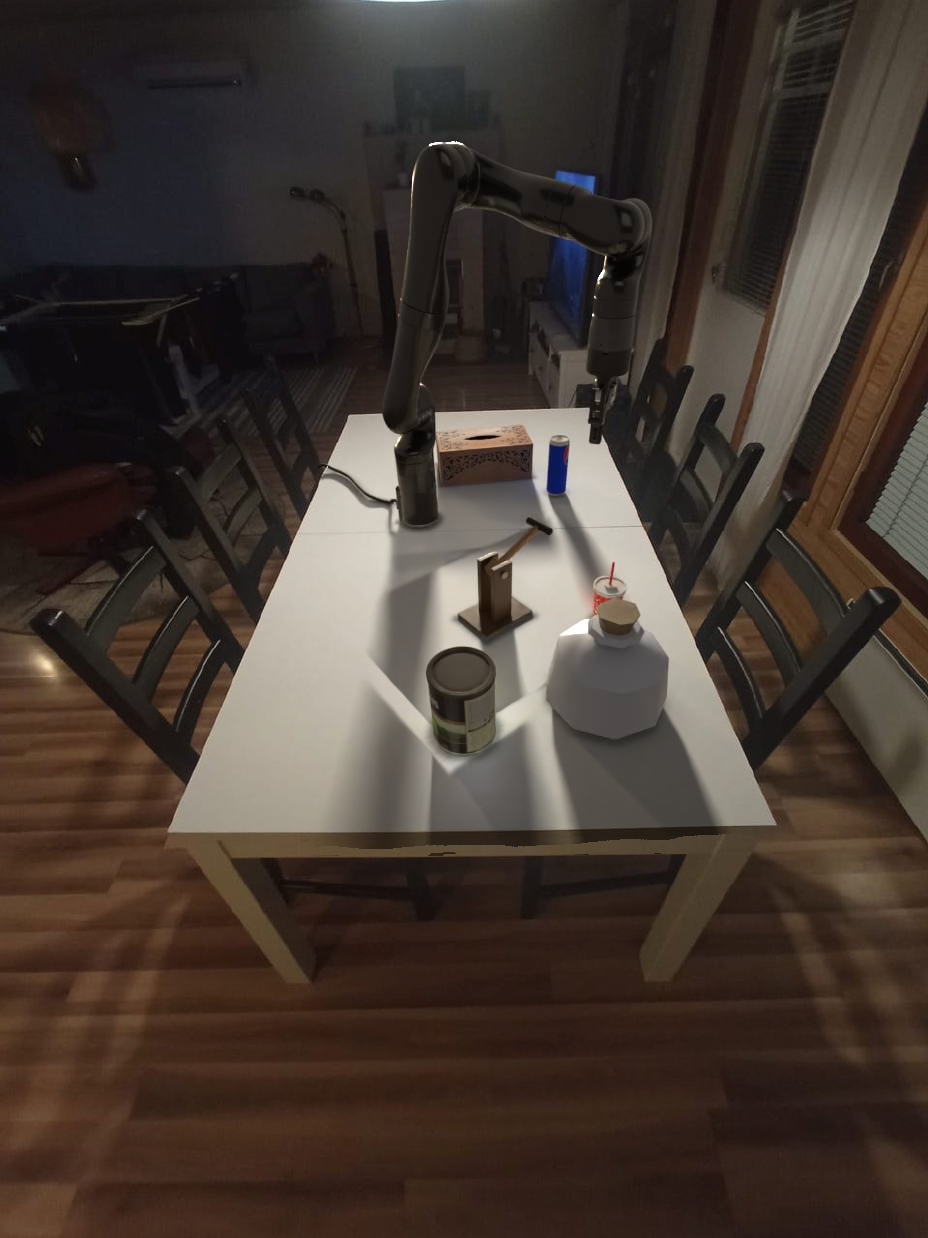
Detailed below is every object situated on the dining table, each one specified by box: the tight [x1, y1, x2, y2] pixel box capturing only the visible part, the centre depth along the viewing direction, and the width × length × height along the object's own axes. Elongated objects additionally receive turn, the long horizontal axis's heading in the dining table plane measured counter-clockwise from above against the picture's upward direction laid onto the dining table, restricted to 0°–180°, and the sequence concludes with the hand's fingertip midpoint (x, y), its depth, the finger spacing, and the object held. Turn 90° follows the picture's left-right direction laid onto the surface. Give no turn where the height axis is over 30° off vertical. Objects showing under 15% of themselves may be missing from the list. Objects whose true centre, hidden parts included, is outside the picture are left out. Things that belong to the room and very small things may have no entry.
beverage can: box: [546, 434, 571, 497], centre depth 147 cm, size 5×5×15 cm
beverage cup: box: [592, 561, 628, 617], centre depth 105 cm, size 6×6×14 cm
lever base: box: [457, 550, 533, 639], centre depth 108 cm, size 12×9×14 cm
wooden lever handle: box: [484, 515, 554, 576], centre depth 105 cm, size 14×6×2 cm, turn 127°
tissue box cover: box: [435, 423, 534, 487], centre depth 160 cm, size 26×14×10 cm, turn 97°
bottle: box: [545, 598, 670, 740], centre depth 89 cm, size 20×20×19 cm
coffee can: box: [425, 645, 497, 757], centre depth 86 cm, size 10×10×14 cm
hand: (599, 434), depth 107 cm, fingers open, 8 cm apart
